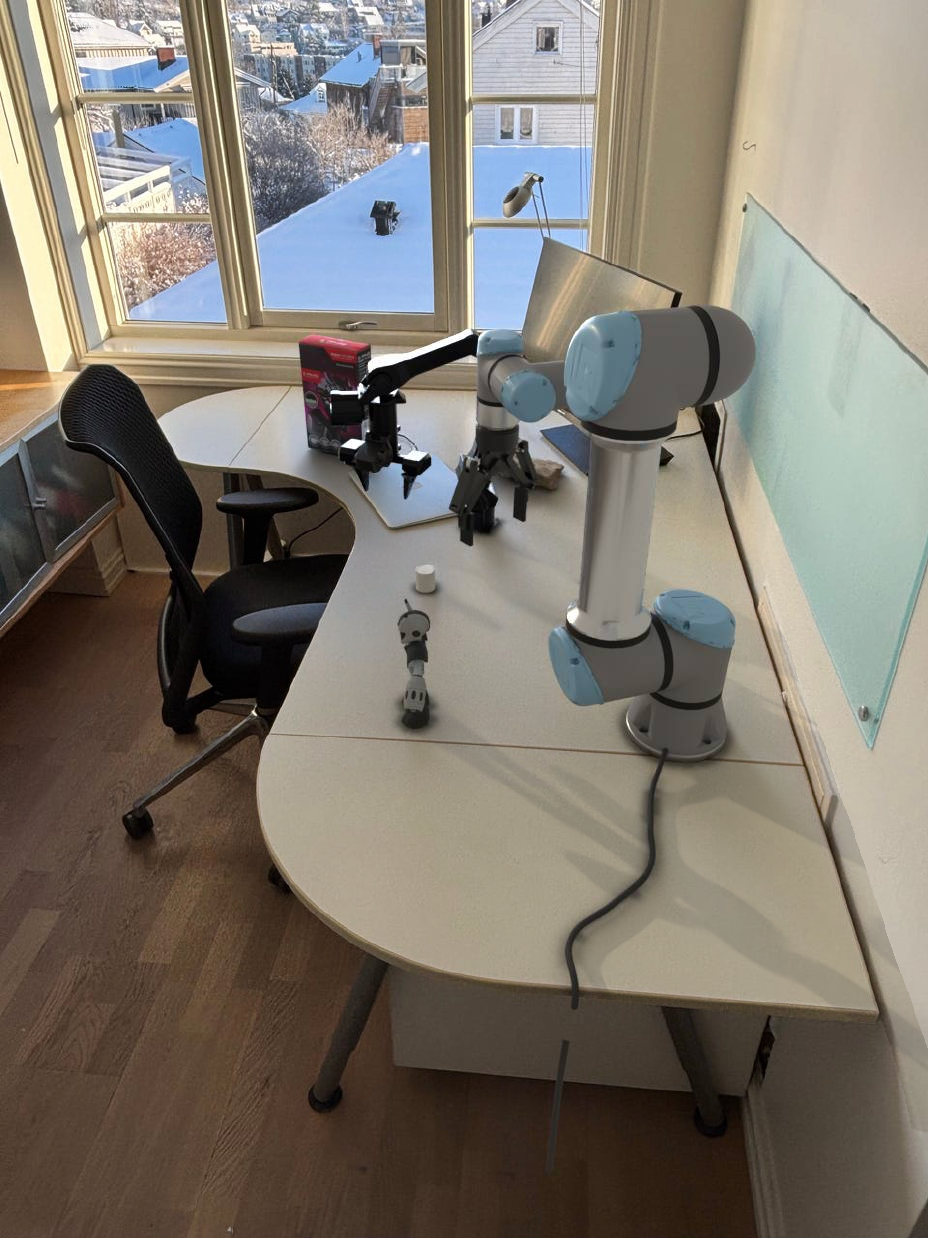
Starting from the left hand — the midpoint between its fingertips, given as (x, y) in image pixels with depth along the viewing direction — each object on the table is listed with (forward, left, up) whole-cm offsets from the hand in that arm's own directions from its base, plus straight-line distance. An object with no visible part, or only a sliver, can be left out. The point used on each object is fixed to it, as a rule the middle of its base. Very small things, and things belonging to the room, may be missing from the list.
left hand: (386, 494), depth 192 cm
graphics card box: (-32, -29, -8) cm, 44 cm away
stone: (-36, +16, -8) cm, 40 cm away
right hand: (+13, +29, +4) cm, 32 cm away
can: (+18, +17, -8) cm, 26 cm away
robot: (+52, +32, -8) cm, 62 cm away
